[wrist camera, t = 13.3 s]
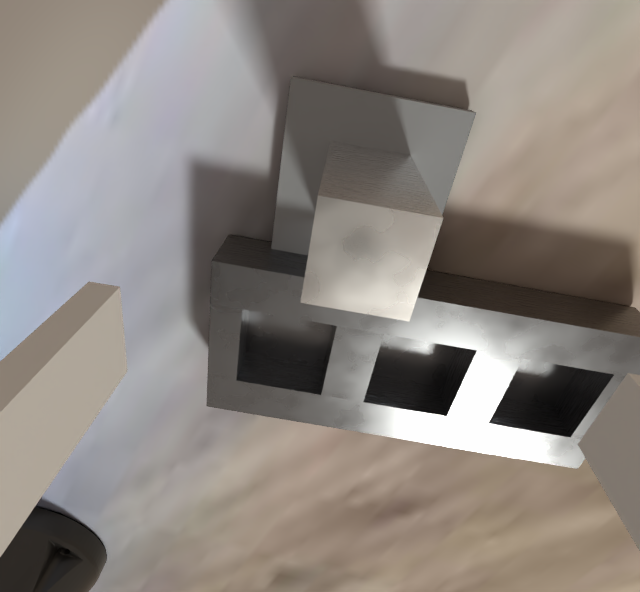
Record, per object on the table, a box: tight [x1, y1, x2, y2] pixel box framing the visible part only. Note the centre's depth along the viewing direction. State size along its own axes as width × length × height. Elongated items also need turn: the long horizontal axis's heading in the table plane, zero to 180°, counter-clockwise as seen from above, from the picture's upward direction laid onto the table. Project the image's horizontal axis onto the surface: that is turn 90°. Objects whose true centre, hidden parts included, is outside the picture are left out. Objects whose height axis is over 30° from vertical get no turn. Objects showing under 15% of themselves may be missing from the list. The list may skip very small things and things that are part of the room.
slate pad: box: [271, 76, 476, 255], centre depth 25 cm, size 10×10×1 cm
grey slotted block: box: [207, 235, 640, 469], centre depth 30 cm, size 28×12×4 cm, turn 81°
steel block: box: [300, 141, 443, 321], centre depth 21 cm, size 5×5×10 cm
